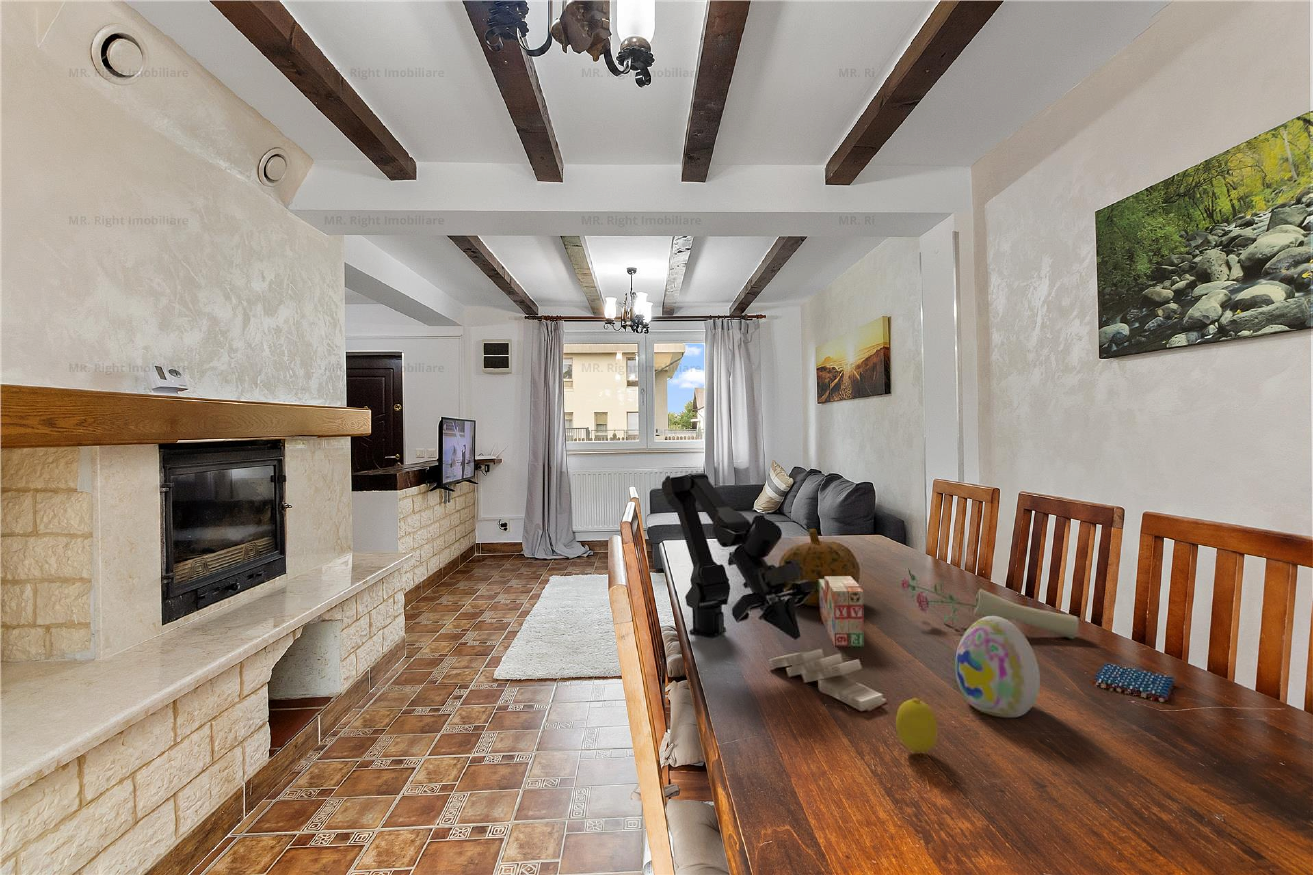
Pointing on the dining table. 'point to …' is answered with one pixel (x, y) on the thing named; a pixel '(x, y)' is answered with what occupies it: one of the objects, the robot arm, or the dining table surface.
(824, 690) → the domino
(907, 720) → the lemon
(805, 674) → the domino
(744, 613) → the robot arm
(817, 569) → the decorative pumpkin
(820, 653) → the domino
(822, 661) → the domino
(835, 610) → the stack of blocks
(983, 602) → the flower vase
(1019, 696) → the decorative egg
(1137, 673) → the woven mat
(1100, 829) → the dining table surface
